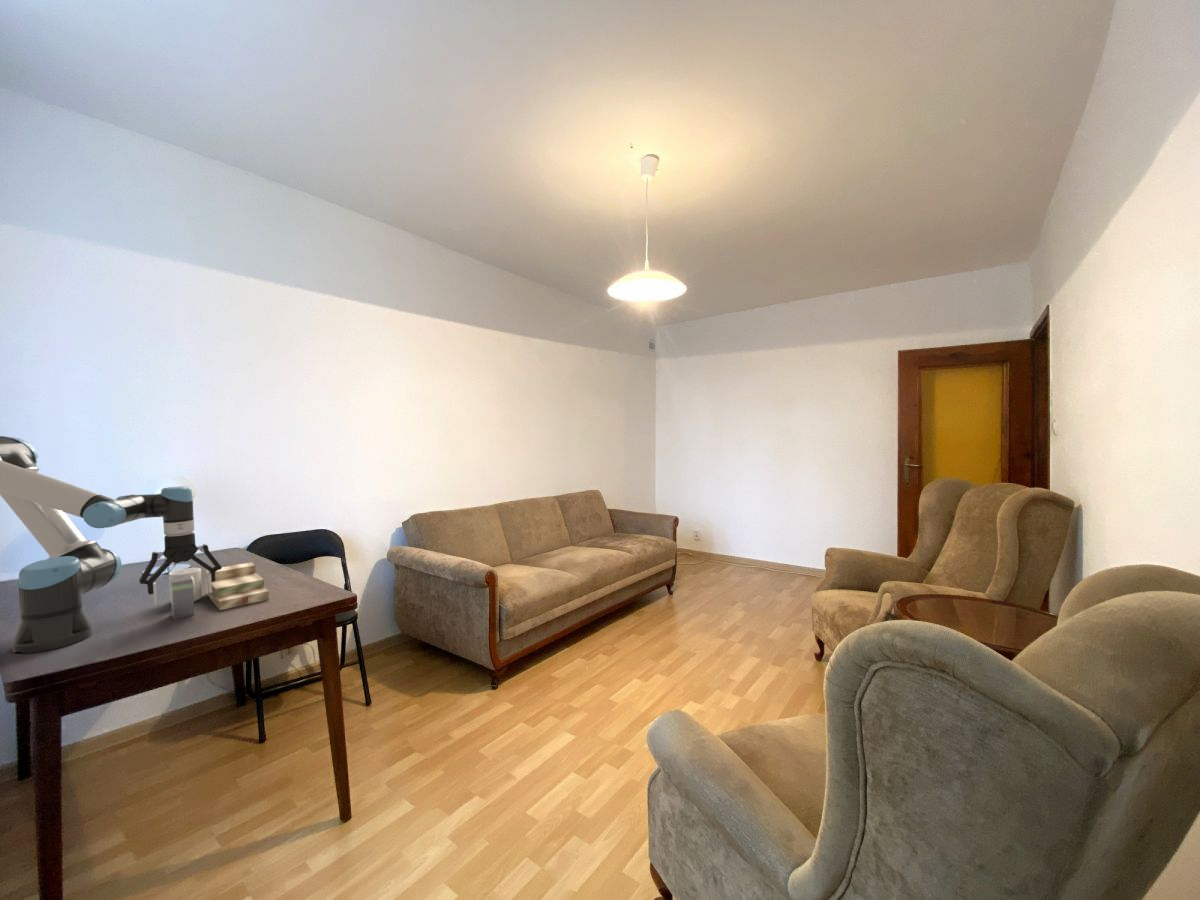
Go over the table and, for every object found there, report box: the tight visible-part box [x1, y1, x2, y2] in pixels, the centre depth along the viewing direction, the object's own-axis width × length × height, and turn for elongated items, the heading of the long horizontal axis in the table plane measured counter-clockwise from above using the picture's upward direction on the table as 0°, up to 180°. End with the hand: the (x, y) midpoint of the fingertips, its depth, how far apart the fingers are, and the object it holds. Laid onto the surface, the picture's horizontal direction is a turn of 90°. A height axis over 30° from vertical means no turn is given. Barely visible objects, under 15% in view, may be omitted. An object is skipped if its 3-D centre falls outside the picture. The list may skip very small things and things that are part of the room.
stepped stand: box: [205, 561, 270, 611], centre depth 173 cm, size 14×24×9 cm, turn 48°
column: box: [170, 576, 195, 620], centre depth 156 cm, size 5×5×12 cm
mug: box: [168, 567, 203, 603], centre depth 169 cm, size 9×12×11 cm
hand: (183, 597), depth 156 cm, fingers open, 13 cm apart
